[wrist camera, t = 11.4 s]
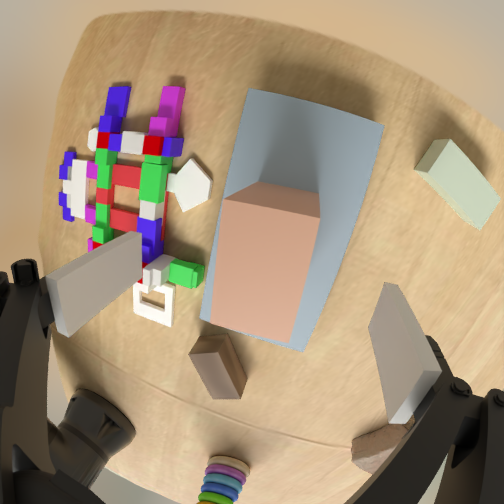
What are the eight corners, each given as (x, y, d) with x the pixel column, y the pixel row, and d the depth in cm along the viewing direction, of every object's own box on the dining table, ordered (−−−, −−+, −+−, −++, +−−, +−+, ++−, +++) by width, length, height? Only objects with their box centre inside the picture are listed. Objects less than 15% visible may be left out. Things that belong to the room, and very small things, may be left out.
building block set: (74, 92, 25) (47, 89, 21) (235, 92, 22) (219, 81, 18) (69, 278, 34) (48, 291, 30) (198, 330, 31) (182, 354, 27)
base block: (213, 298, 29) (199, 318, 26) (259, 97, 22) (248, 88, 18) (305, 327, 28) (303, 352, 25) (373, 129, 21) (384, 125, 17)
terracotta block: (244, 268, 23) (210, 323, 16) (257, 181, 20) (223, 198, 13) (299, 281, 22) (288, 343, 15) (318, 193, 20) (320, 218, 12)
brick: (348, 439, 33) (347, 465, 29) (399, 417, 30) (403, 443, 26) (390, 470, 35) (391, 490, 31) (431, 452, 32) (434, 472, 28)
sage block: (462, 220, 21) (480, 230, 17) (413, 169, 21) (427, 172, 17) (481, 192, 19) (500, 198, 16) (433, 139, 19) (450, 138, 16)
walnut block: (221, 379, 33) (212, 399, 30) (200, 335, 31) (188, 354, 28) (247, 378, 32) (240, 398, 29) (227, 332, 30) (217, 352, 27)
